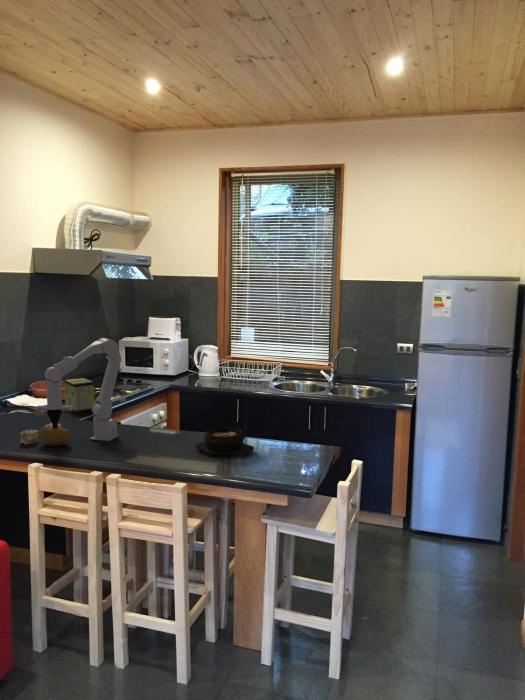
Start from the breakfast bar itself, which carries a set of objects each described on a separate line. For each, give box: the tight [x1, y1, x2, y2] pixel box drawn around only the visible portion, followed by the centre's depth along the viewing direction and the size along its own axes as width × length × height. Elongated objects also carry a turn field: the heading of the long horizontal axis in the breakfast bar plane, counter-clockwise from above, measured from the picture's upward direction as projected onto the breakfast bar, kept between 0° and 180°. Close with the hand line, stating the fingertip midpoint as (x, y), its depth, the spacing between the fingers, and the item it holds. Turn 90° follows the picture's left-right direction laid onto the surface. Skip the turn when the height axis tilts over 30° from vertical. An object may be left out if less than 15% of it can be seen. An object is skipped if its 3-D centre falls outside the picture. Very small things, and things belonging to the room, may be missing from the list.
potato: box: [39, 425, 72, 447], centre depth 240 cm, size 10×14×8 cm
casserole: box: [194, 426, 255, 457], centre depth 233 cm, size 25×19×8 cm
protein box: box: [64, 377, 96, 414], centre depth 303 cm, size 10×16×16 cm
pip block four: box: [20, 429, 40, 445], centre depth 244 cm, size 5×5×5 cm
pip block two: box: [43, 422, 62, 428], centre depth 254 cm, size 5×5×5 cm
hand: (55, 427), depth 239 cm, fingers closed, pressing on potato
